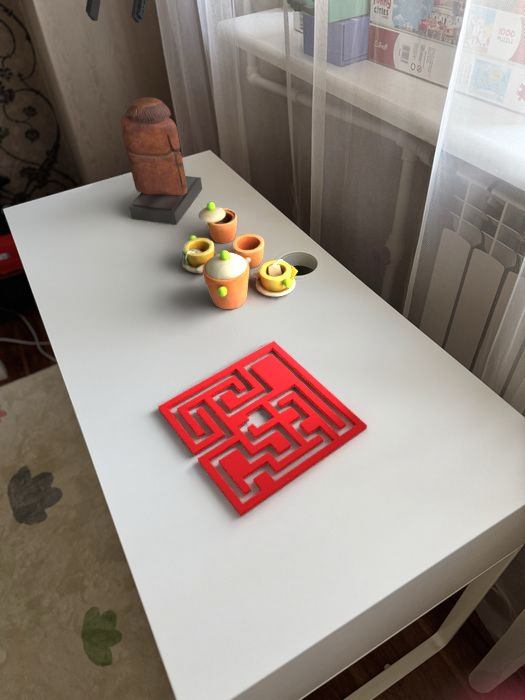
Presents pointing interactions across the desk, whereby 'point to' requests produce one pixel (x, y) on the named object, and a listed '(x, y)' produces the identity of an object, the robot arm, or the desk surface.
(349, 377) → the desk surface
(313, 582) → the desk surface
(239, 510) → the maze puzzle
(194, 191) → the block
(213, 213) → the toy tea set
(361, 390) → the desk surface
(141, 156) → the wooden figurine
